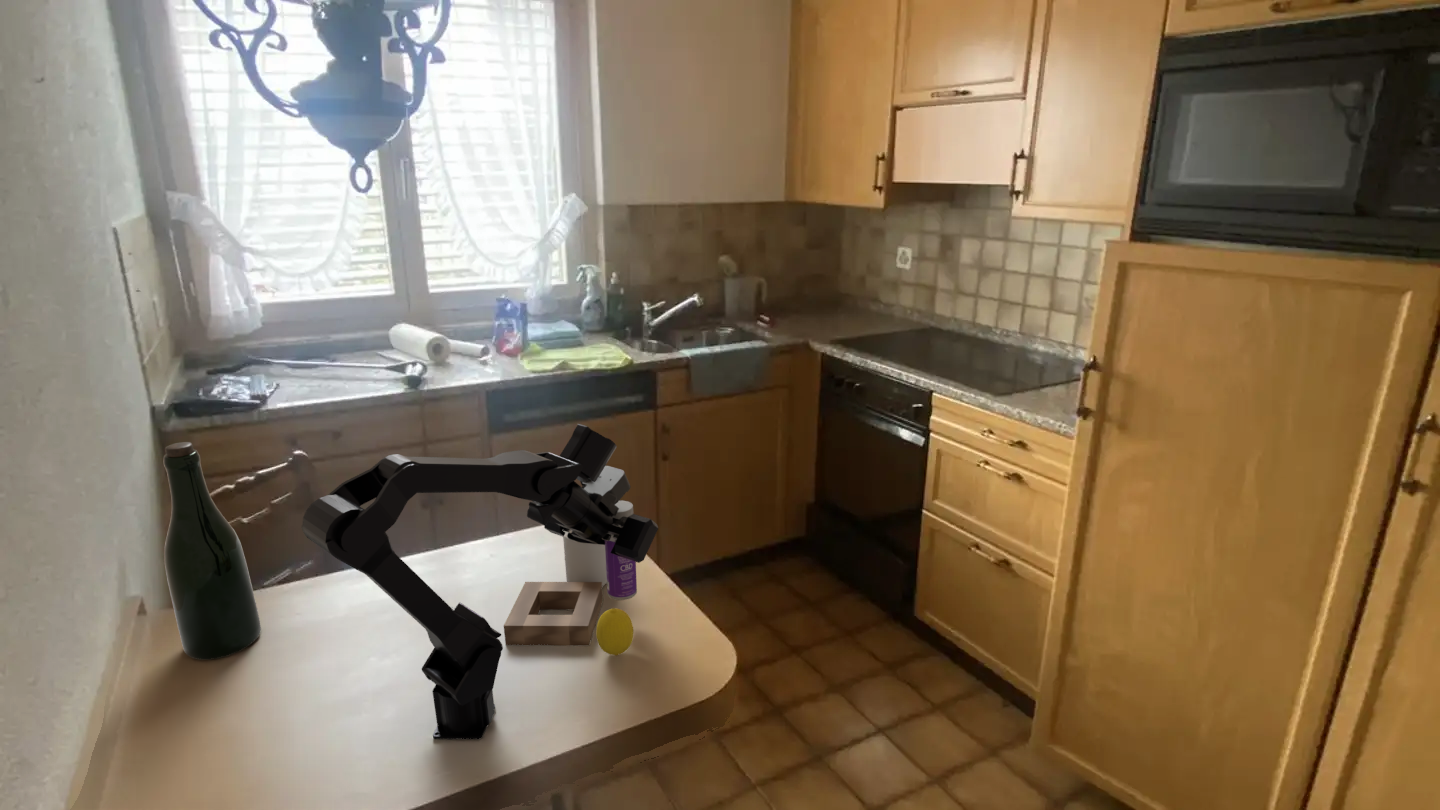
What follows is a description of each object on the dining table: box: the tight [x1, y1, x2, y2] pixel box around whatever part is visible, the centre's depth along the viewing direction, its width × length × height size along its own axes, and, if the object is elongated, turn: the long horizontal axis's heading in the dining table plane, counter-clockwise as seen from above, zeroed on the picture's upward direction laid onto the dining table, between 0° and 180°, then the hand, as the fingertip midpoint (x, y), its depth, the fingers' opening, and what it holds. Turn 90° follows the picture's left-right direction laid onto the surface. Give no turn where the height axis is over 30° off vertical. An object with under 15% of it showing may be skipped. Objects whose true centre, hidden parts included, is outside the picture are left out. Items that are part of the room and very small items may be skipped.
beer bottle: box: [162, 441, 262, 661], centre depth 118 cm, size 10×10×33 cm
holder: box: [503, 581, 604, 647], centre depth 127 cm, size 13×13×4 cm
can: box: [562, 531, 607, 588], centre depth 137 cm, size 8×8×12 cm
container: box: [605, 500, 638, 601], centre depth 124 cm, size 5×5×15 cm
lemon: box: [595, 607, 634, 657], centre depth 118 cm, size 6×6×8 cm
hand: (625, 546), depth 125 cm, fingers closed on container, 5 cm apart
